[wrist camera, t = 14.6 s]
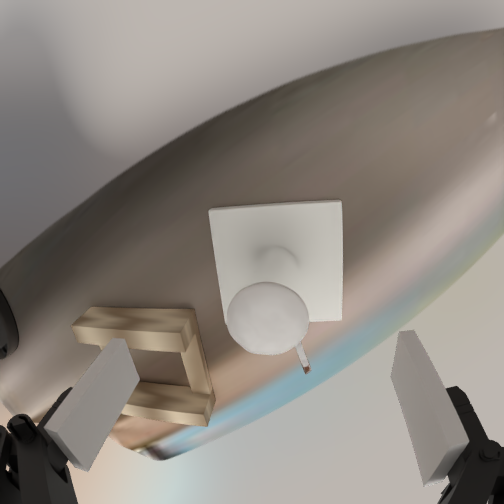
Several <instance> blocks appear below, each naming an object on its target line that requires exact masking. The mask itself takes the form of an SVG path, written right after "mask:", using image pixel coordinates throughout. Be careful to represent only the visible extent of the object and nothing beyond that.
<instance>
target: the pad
mask: <svg viewBox="0 0 504 504" xmlns="http://www.w3.org/2000/svg"><path fill="white" fill-rule="evenodd" d="M208 212H209V220H210V227H211V234H212V241H213V248H214V255H215V261H216V268H217V275H218V281H219V287H220V294H221V300H222V306H223V312H224V318H225V324H227V310H228V307H229V304H230V302H231V300H232V299H233V297H234V296H235V294H236V293H237V291H238V289H239V288H240V286H241V285H242V283H243V282H244V280H245V279H246V277H247V275H248V273H249V272H250V270H251V268H252V266H253V264H254V263H255V261H256V259H257V257H258V255H259V254H260V253H261V252H263V251H265V250H266V249H268V248H270V247H279V248H285V249H286V250H287V251H289V252H290V253H291V254H292V255H293V256H294V257H295V261H296V265H297V269H298V274H299V280H300V285H301V288H302V291H303V295H304V298H305V302H306V306H307V310H308V314H309V322H321V321H338V320H342V293H343V227H342V202H341V200H319V201H301V202H285V203H270V204H256V205H243V206H231V207H219V208H211V209H210V210H209V211H208Z"/></svg>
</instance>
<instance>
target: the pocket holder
mask: <svg viewBox="0 0 504 504" xmlns="http://www.w3.org/2000/svg"><path fill="white" fill-rule="evenodd" d="M71 327H72V330H73V332H74V335H75V337H76V340H77V342H78V343H85V344H93V345H99V347H100V349H101V352H102V350H103V349H104V348H105V347H106V345H107V344H108V343H109V342H110V340H111V339H112V338H121V339H125V341H126V344H127V346H128V348H129V349H140V350H152V351H167V352H181V356H182V359H183V363H184V366H185V370H186V373H187V377H188V380H189V383H190V387H188V386H176V385H166V384H157V383H149V382H141V381H139V382H138V384H137V385H136V387H135V389H134V391H133V392H132V394H131V396H130V398H129V399H128V401H127V403H126V405H125V406H124V408H123V410H122V412H121V413H120V414H125V415H130V416H135V417H140V418H146V419H152V420H158V421H164V422H171V423H179V424H187V425H195V426H205V427H207V426H208V423H209V420H210V417H211V414H212V411H213V407H214V404H215V401H216V400H215V396H214V392H213V388H212V384H211V380H210V376H209V372H208V368H207V364H206V360H205V355H204V351H203V347H202V342H201V338H200V333H199V329H198V324H197V319H196V315H195V310H194V309H148V308H113V307H90V308H89V309H88V310H87V311H86V312H85V313H84V314H83V315H82V316H81V317H79V318H78V319H77V320H76V321H75V322H74V323H73V324H72V325H71Z"/></svg>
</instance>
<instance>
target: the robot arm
mask: <svg viewBox="0 0 504 504" xmlns="http://www.w3.org/2000/svg"><path fill="white" fill-rule="evenodd" d="M17 346H18V332H17V328H16V324H15V321H14V318H13V315H12V313H11V310H10V308H9V306H8V304H7V302H6V300H5V298H4V296H3V295H2V293H1V291H0V360H2V359H5V358H7V357H8V356H9V355H11V354H12V353H13V352H14V351H15V350H16V349H17ZM391 379H392V382H393V385H394V388H395V390H396V394H397V397H398V400H399V403H400V405H401V409H402V412H403V415H404V418H405V421H406V424H407V428H408V431H409V434H410V437H411V441H412V444H413V448H414V451H415V455H416V459H417V462H418V466H419V470H420V473H421V476H422V481H423V485H424V487H425V486H429V485H433V484H437V483H440V482H442V481H443V480H444V479H445V477H446V476H447V475H448V478H449V481H450V483H449V484H448V485H447V486H446V488H445V489H444V490H443V492H442V493H441V494H443V495H442V496H441V498H440V500H439V502H438V504H487V501H488V504H504V447H501V446H500V445H499V443H497V442H495V441H493V440H489V439H488V437H487V435H486V433H485V431H484V429H483V427H482V425H481V423H480V421H479V419H478V417H477V415H476V413H475V412H474V409H473V407H472V405H471V404H470V401H469V399H468V398H467V395H466V394H465V393H464V392H463V391H462V390H461V389H459V387H457V386H454V387H450V388H446V389H445V387H444V385H443V383H442V381H441V379H440V377H439V375H438V373H437V371H436V369H435V368H434V366H433V364H432V362H431V360H430V358H429V356H428V355H427V353H426V351H425V349H424V347H423V345H422V343H421V342H420V340H419V338H418V336H417V334H416V333H415V331H414V330H409V331H401V332H399V334H398V341H397V346H396V352H395V357H394V363H393V367H392V372H391ZM139 380H140V378H139V376H138V373H137V371H136V368H135V365H134V363H133V360H132V357H131V355H130V352H129V349H128V346H127V344H126V341H125V339H121V338H112V339H111V340H110V342H109V343H108V344H107V345H106V347H105V348H104V349H103V350H102V352H101V353H100V354H99V355H98V357H97V358H96V359H95V360H94V362H93V363H92V364H91V366H90V367H89V368H88V369H87V371H86V372H85V373H84V374H83V376H82V377H81V378H80V380H79V381H78V382H77V384H76V385H75V386H74V387H73V388H72V387H70V388H68V389H67V390H66V391H64V392H63V393H62V394H61V395H60V396H59V398H58V399H57V402H55V403H54V404H53V405H52V408H50V409H49V411H48V412H47V413H46V415H45V416H44V417H43V419H42V420H41V421H40V423H39V424H38V426H37V427H36V426H35V424H34V423H33V421H32V420H31V418H30V417H29V416H28V415H26V414H18V415H16V416H14V417H12V418H11V419H10V420H9V422H8V424H7V428H8V430H9V431H10V432H11V433H9V432H8V431H7V430H6V428H5V427H3V426H1V425H0V504H78V502H77V498H76V495H75V491H74V487H73V484H72V480H71V476H70V472H69V468H68V466H67V465H66V463H67V461H68V460H69V461H70V462H71V463H72V464H73V465H74V467H76V468H78V469H81V470H84V471H87V472H88V471H89V470H90V468H91V466H92V464H93V462H94V460H95V458H96V457H97V455H98V453H99V451H100V449H101V447H102V446H103V444H104V442H105V440H106V438H107V437H108V435H109V433H110V431H111V429H112V428H113V426H114V424H115V422H116V420H117V419H118V417H119V415H120V413H121V412H122V410H123V408H124V406H125V405H126V403H127V401H128V399H129V398H130V396H131V394H132V392H133V391H134V389H135V387H136V385H137V384H138V382H139ZM6 465H8V466H9V467H10V468H9V471H7V470H6ZM488 499H489V500H488Z"/></svg>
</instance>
